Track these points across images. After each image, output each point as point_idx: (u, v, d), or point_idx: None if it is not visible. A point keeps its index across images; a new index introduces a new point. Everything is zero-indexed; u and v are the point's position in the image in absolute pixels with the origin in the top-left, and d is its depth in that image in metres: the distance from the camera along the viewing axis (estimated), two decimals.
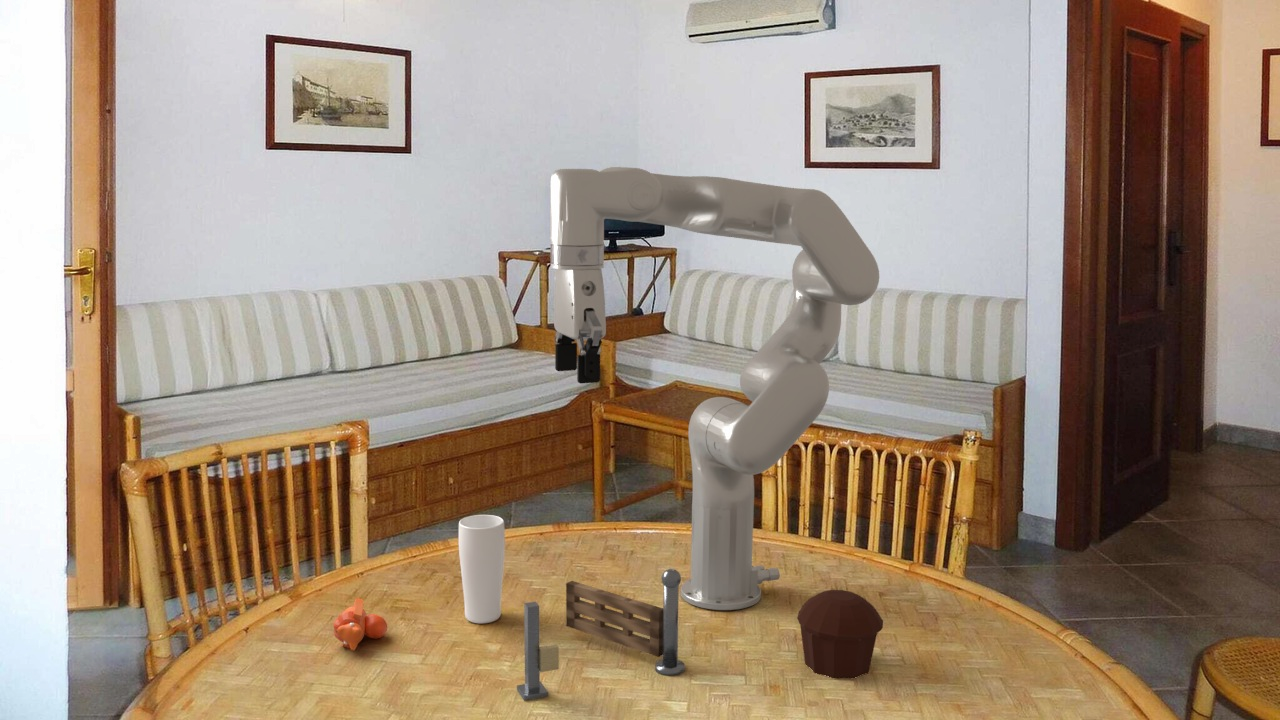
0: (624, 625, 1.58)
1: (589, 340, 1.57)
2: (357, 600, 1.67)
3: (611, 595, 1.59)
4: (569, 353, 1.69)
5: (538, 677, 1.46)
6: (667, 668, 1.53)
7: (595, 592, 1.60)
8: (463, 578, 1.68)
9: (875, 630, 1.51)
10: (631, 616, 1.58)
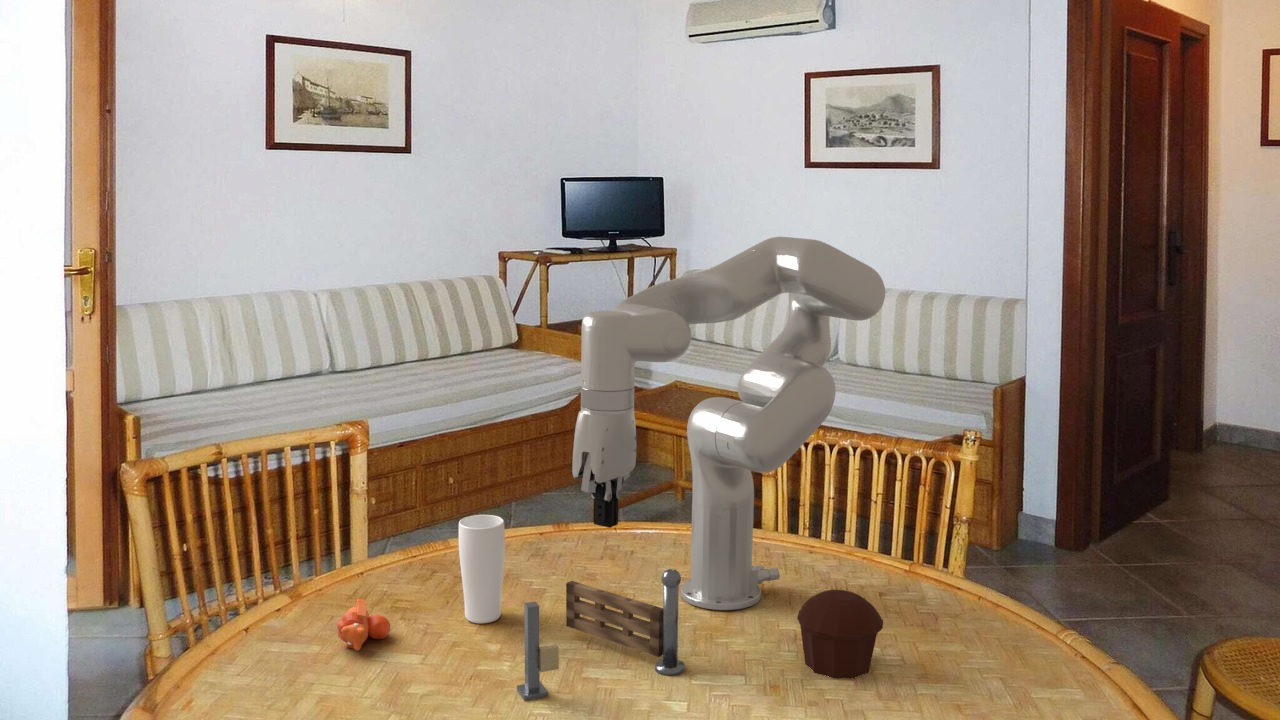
0: (624, 625, 1.58)
1: (622, 477, 1.65)
2: (359, 600, 1.67)
3: (611, 595, 1.59)
4: None
5: (538, 677, 1.46)
6: (667, 668, 1.53)
7: (595, 592, 1.60)
8: (463, 578, 1.68)
9: (875, 630, 1.51)
10: (631, 616, 1.58)
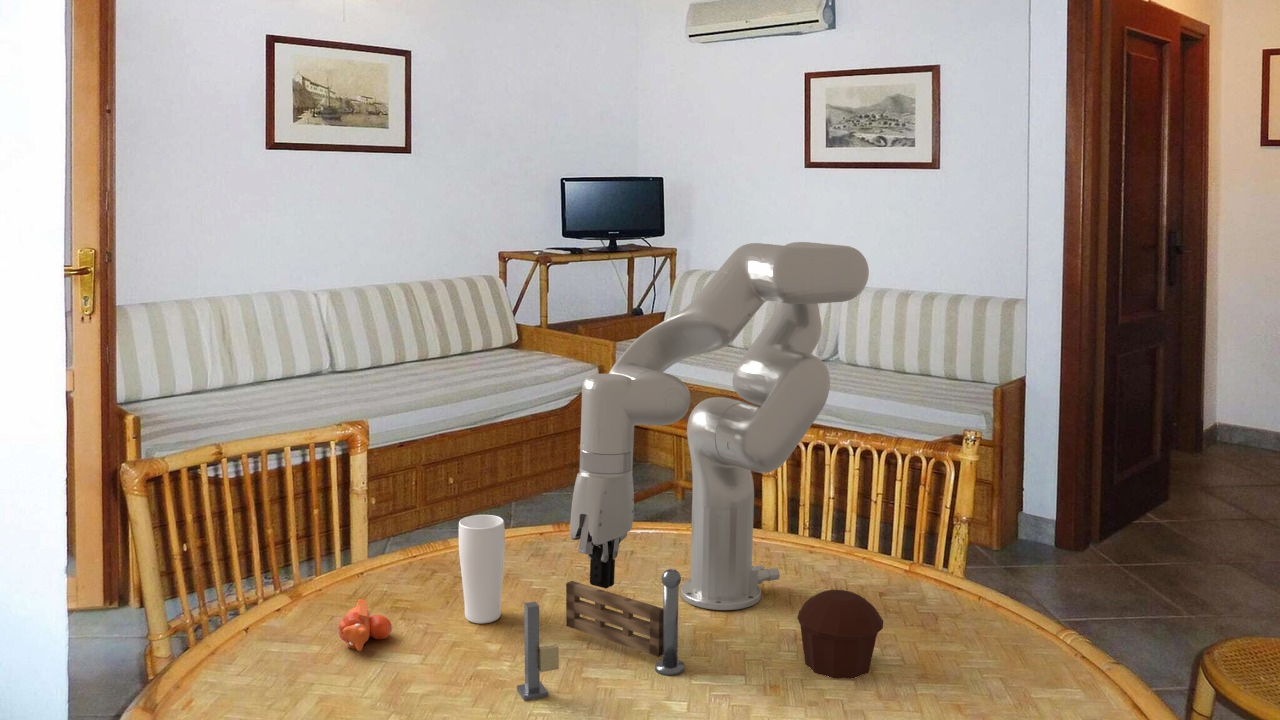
0: (624, 625, 1.58)
1: (619, 538, 1.67)
2: (360, 601, 1.67)
3: (611, 595, 1.59)
4: None
5: (538, 677, 1.46)
6: (667, 668, 1.53)
7: (595, 592, 1.60)
8: (463, 578, 1.68)
9: (875, 630, 1.51)
10: (631, 616, 1.58)
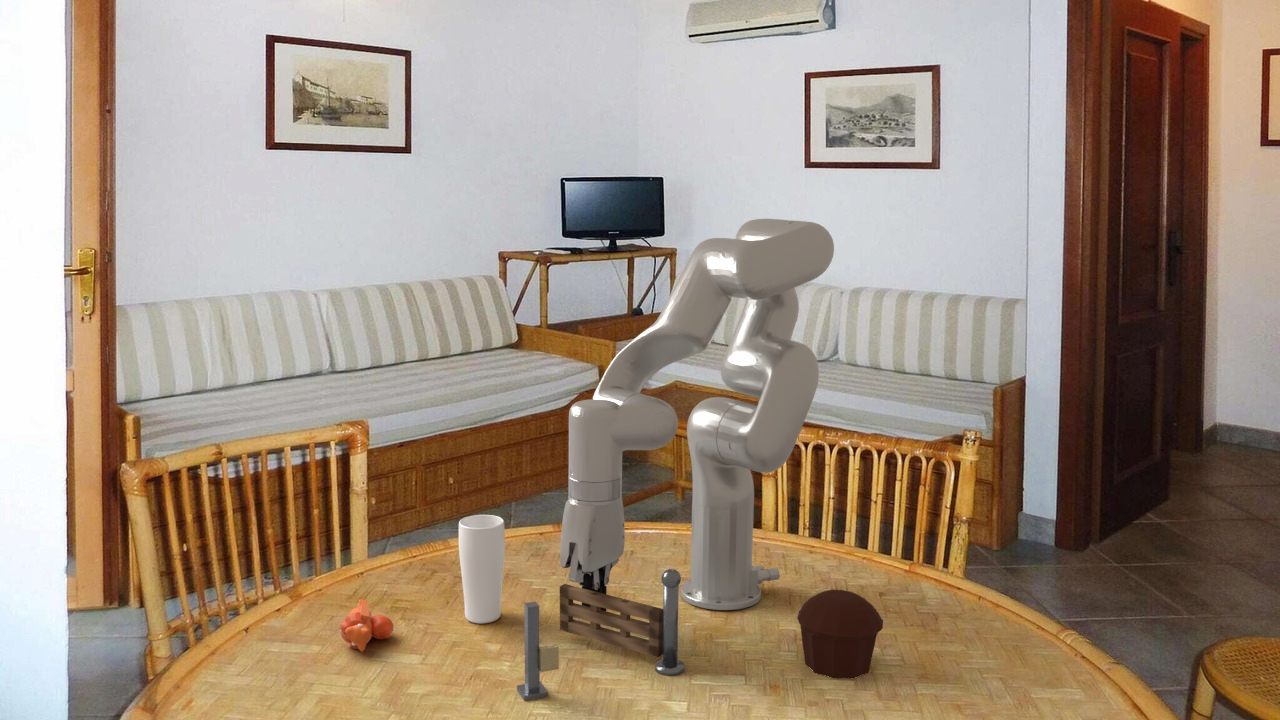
0: (622, 627, 1.57)
1: (611, 564, 1.65)
2: (361, 601, 1.67)
3: (607, 597, 1.58)
4: None
5: (538, 677, 1.46)
6: (667, 668, 1.53)
7: (591, 594, 1.59)
8: (463, 578, 1.68)
9: (875, 630, 1.51)
10: (628, 617, 1.57)
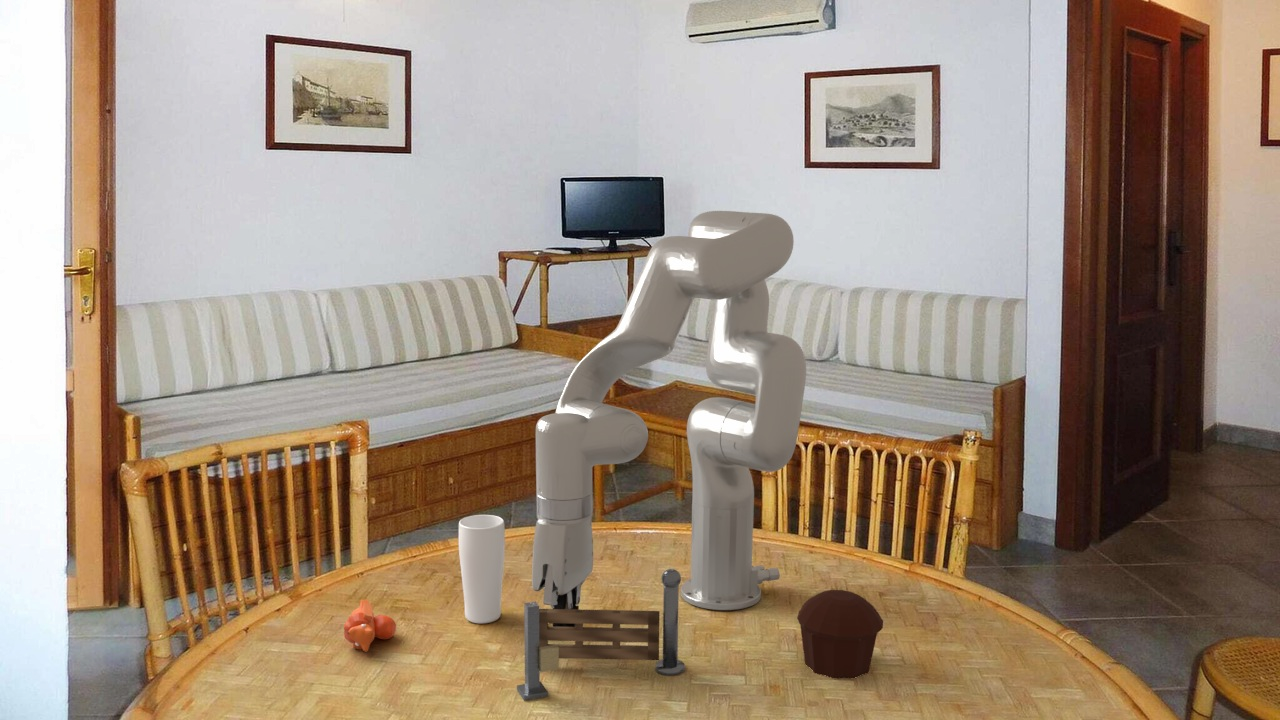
0: (615, 638, 1.53)
1: None
2: (363, 601, 1.67)
3: (595, 612, 1.53)
4: None
5: (538, 677, 1.46)
6: (667, 668, 1.53)
7: (576, 613, 1.53)
8: (463, 578, 1.68)
9: (875, 630, 1.51)
10: None
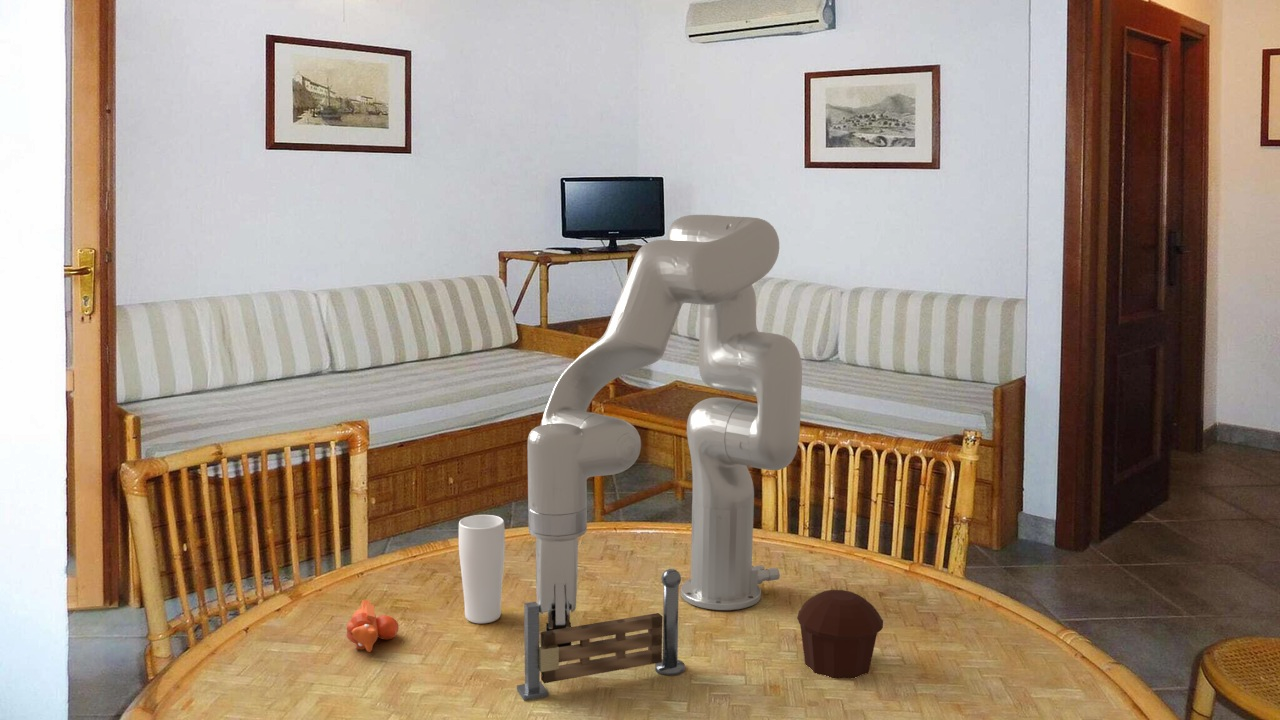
0: (621, 648, 1.50)
1: None
2: (364, 602, 1.67)
3: (601, 624, 1.49)
4: None
5: (538, 677, 1.46)
6: (667, 668, 1.53)
7: (583, 629, 1.48)
8: (463, 578, 1.68)
9: (875, 630, 1.51)
10: None
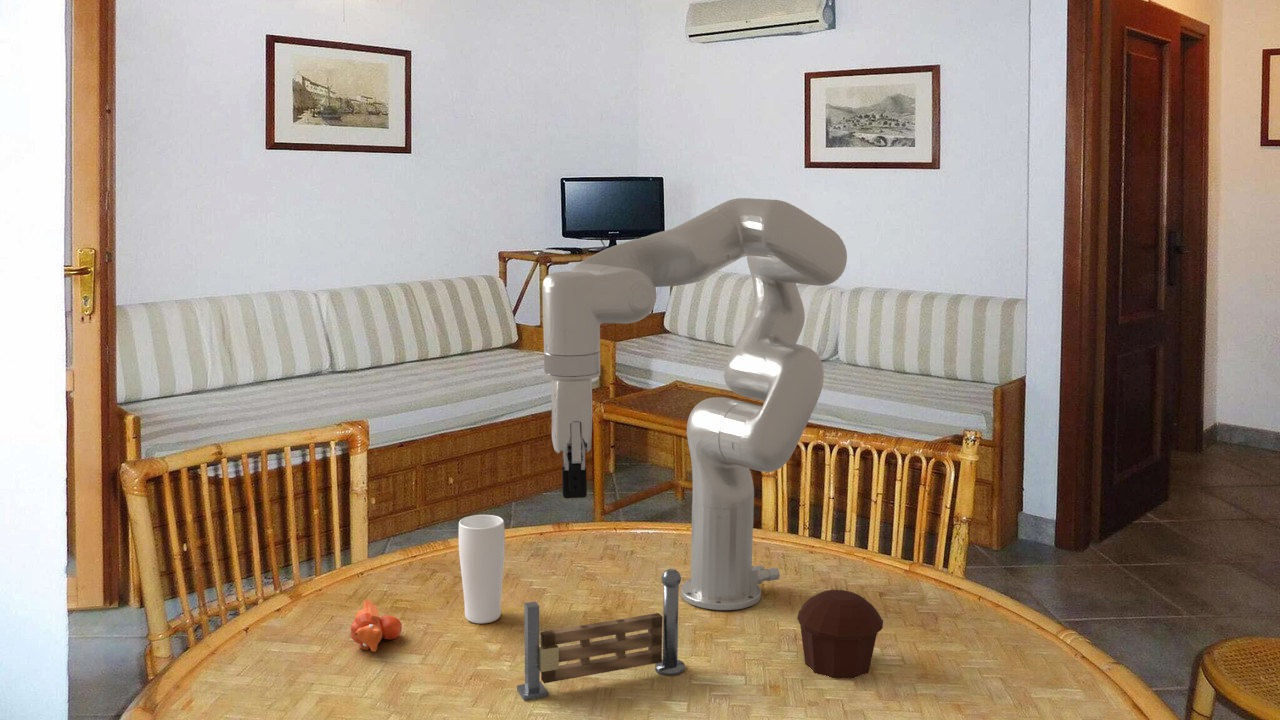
0: (621, 648, 1.50)
1: None
2: (367, 602, 1.67)
3: (601, 624, 1.49)
4: None
5: (538, 677, 1.46)
6: (667, 668, 1.53)
7: (583, 629, 1.48)
8: (463, 578, 1.68)
9: (875, 630, 1.51)
10: None
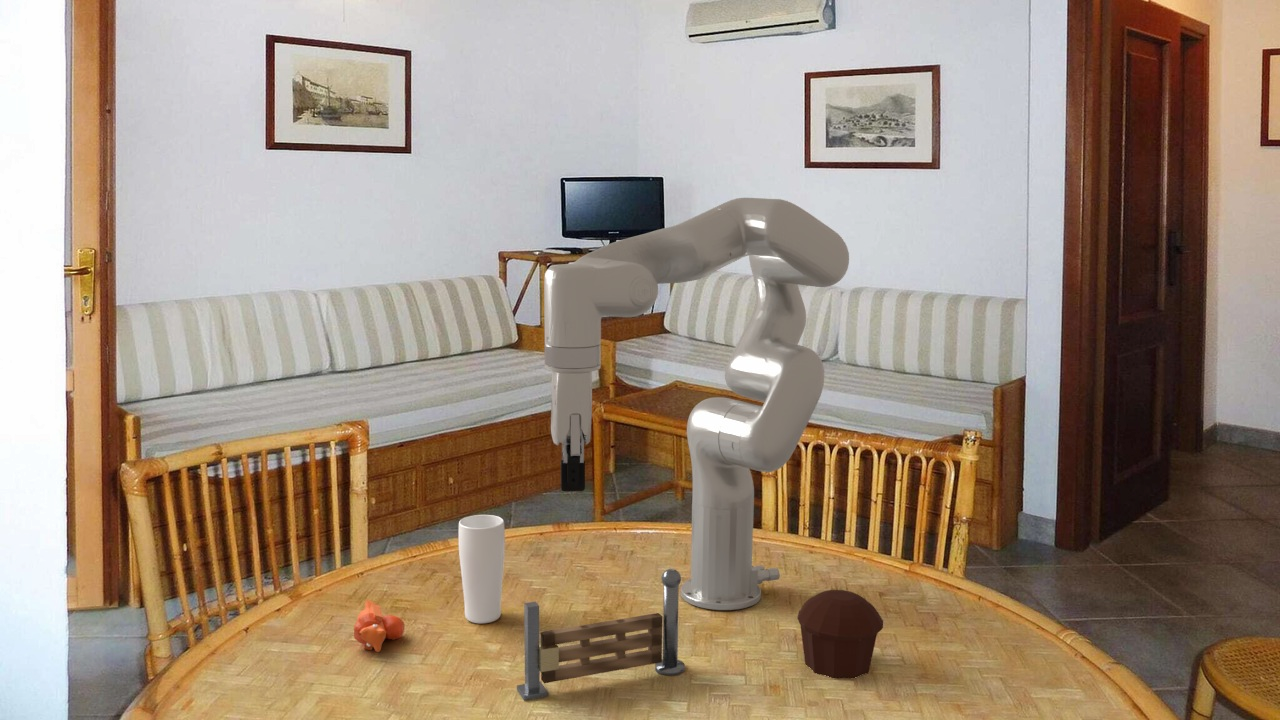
0: (621, 648, 1.50)
1: None
2: (368, 602, 1.67)
3: (601, 624, 1.49)
4: None
5: (538, 677, 1.46)
6: (667, 668, 1.53)
7: (583, 629, 1.48)
8: (463, 578, 1.68)
9: (875, 630, 1.51)
10: None
